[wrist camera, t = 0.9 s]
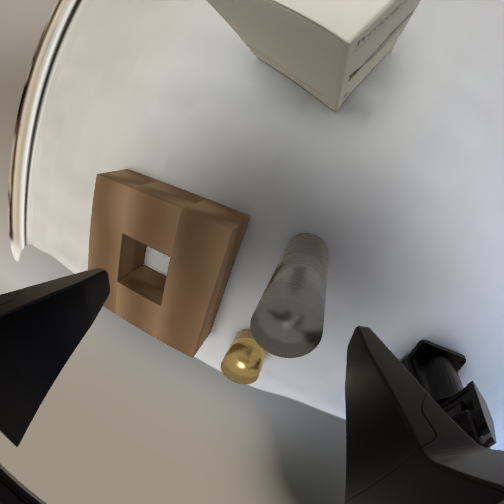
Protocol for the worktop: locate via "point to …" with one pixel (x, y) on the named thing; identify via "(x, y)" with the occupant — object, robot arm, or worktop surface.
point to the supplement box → (319, 38)
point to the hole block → (169, 243)
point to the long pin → (294, 300)
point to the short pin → (243, 359)
